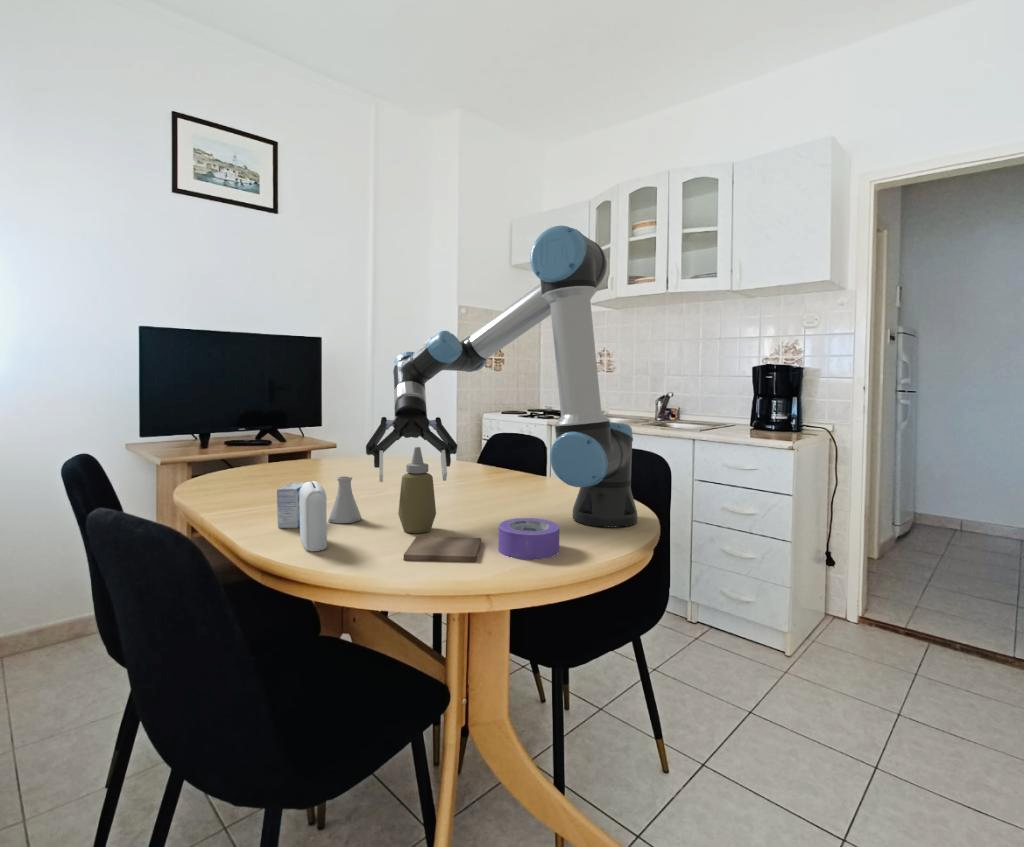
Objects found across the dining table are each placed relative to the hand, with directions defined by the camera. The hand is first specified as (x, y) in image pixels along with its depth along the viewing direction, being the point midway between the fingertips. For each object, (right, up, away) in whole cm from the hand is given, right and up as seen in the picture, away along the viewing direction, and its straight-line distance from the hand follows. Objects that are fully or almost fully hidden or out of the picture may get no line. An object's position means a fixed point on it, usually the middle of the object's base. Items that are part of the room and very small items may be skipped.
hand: (413, 478), depth 121 cm
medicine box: (-27, -11, +3) cm, 29 cm away
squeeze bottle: (+1, -11, -1) cm, 11 cm away
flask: (-17, -11, +7) cm, 21 cm away
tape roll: (+25, -13, -13) cm, 31 cm away
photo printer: (-17, -12, -12) cm, 24 cm away
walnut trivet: (+9, -12, -15) cm, 21 cm away
